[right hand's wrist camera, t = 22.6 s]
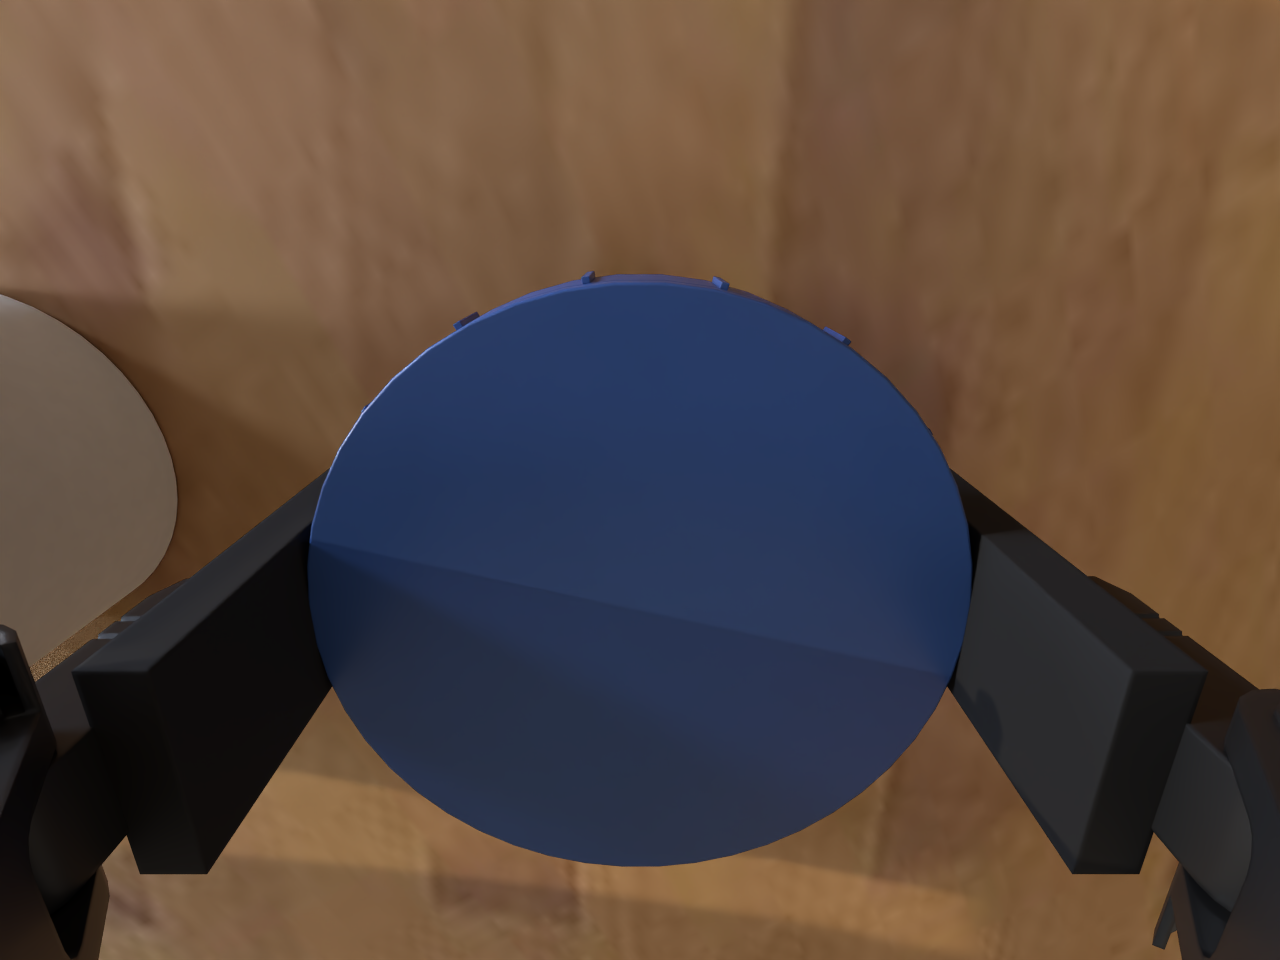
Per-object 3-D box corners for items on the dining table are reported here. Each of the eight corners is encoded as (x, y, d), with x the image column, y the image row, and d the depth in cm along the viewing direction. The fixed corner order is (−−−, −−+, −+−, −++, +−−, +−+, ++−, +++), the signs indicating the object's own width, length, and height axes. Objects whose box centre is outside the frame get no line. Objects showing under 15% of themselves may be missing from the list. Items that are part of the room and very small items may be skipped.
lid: (978, 721, 13) (1023, 787, 11) (486, 850, 14) (469, 925, 12) (864, 171, 10) (905, 162, 8) (235, 397, 11) (168, 426, 9)
